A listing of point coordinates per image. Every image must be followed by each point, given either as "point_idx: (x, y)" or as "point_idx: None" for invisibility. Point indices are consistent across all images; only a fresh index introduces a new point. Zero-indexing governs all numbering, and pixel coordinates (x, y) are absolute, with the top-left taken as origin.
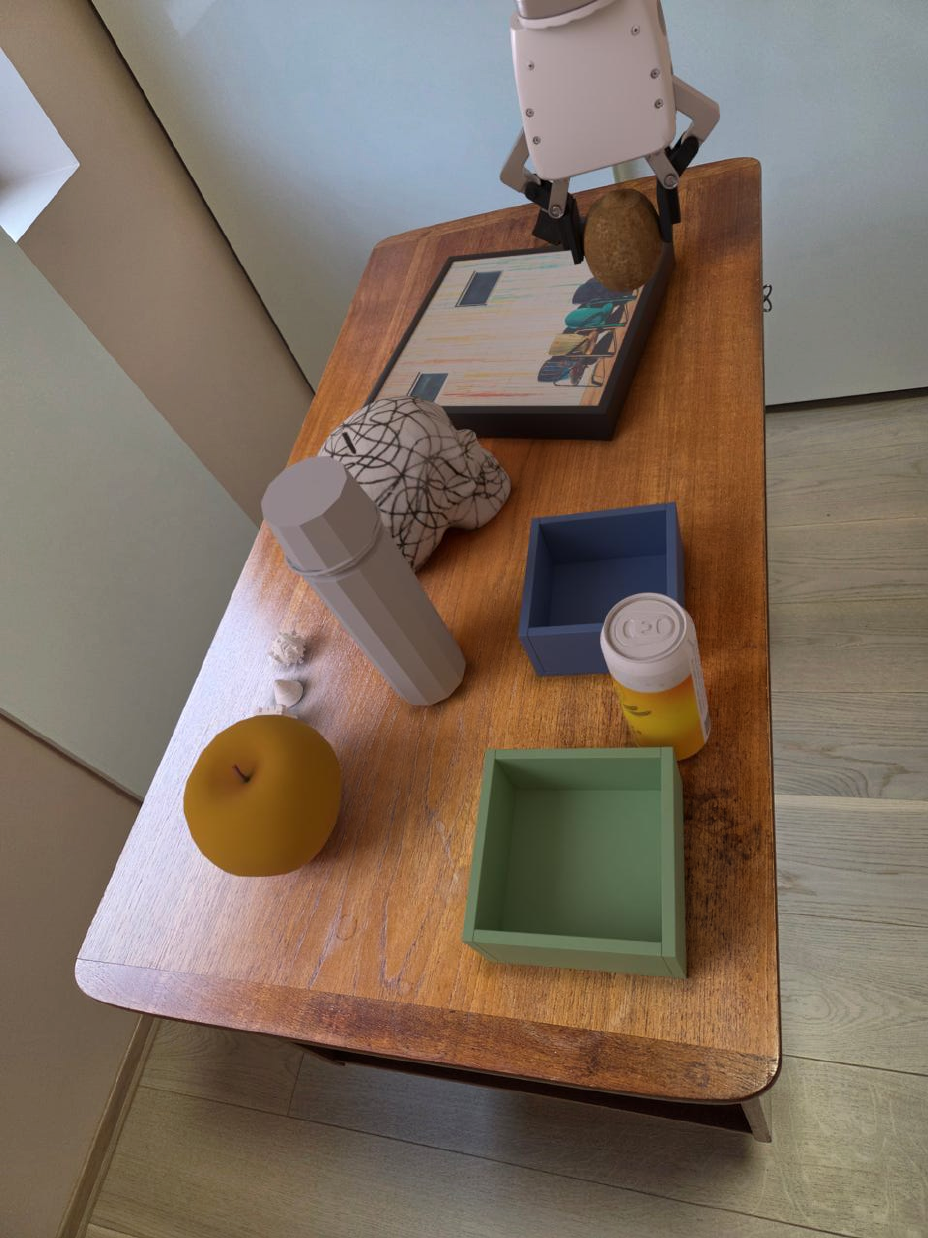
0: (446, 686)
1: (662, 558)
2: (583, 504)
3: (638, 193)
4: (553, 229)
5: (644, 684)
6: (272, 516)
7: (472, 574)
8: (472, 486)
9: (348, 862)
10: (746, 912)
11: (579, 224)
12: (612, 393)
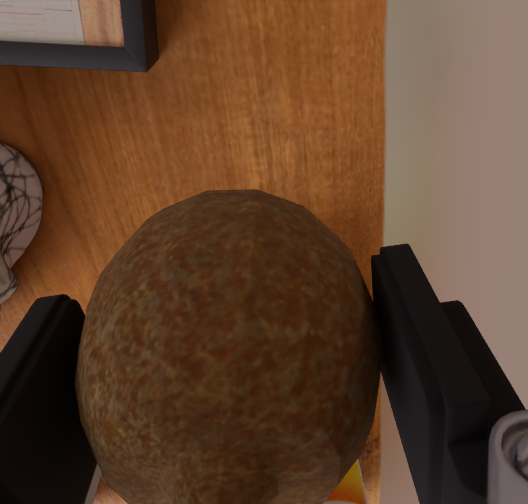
0: None
1: None
2: (159, 188)
3: (329, 450)
4: None
5: None
6: None
7: (61, 293)
8: (11, 291)
9: (106, 493)
10: (369, 471)
11: (56, 401)
12: (141, 11)
